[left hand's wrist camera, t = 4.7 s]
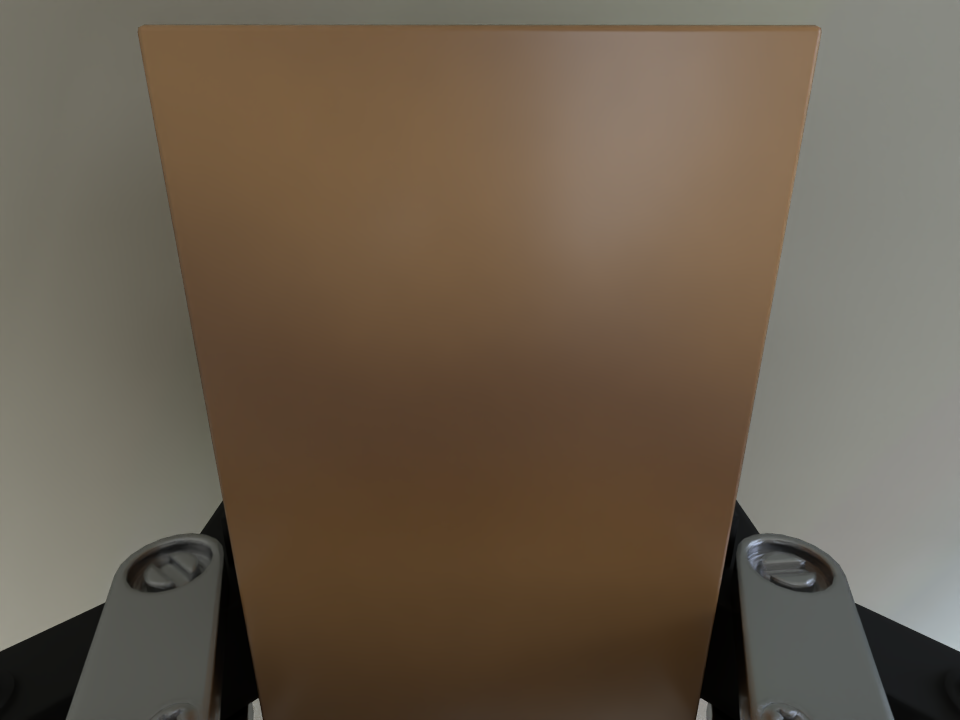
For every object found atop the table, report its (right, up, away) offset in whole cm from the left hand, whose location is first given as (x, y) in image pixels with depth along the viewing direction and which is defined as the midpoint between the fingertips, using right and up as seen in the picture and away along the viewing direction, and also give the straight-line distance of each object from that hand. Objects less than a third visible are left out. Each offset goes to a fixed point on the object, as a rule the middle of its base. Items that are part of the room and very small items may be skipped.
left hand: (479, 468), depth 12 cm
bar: (0, -21, +11) cm, 24 cm away
